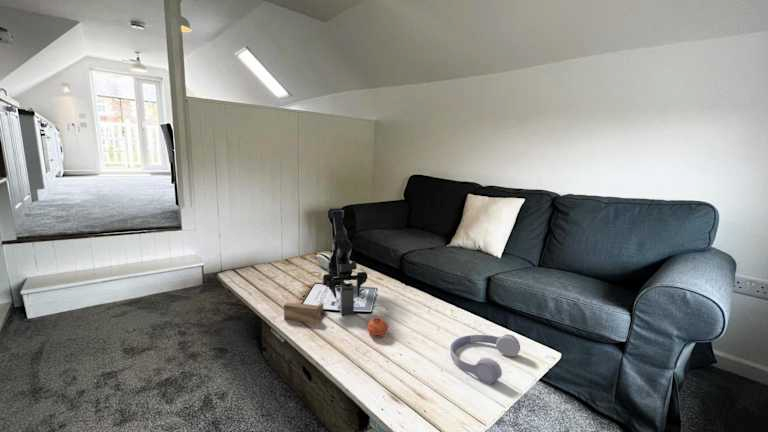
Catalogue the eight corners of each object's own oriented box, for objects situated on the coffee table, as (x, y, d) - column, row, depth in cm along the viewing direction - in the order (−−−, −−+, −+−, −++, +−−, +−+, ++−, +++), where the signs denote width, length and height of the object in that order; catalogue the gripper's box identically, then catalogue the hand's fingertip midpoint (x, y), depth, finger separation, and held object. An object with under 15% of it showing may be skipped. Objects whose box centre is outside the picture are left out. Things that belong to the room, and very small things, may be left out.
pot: (393, 334, 128) (391, 319, 125) (378, 345, 123) (375, 330, 121) (379, 325, 134) (377, 310, 131) (364, 335, 129) (361, 321, 127)
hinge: (340, 271, 195) (335, 256, 191) (333, 275, 193) (328, 260, 189) (325, 263, 208) (320, 249, 204) (319, 267, 206) (314, 253, 202)
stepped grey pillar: (340, 311, 145) (340, 283, 143) (351, 310, 147) (352, 283, 144) (341, 317, 140) (342, 288, 138) (354, 316, 142) (354, 287, 139)
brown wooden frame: (296, 307, 148) (296, 294, 147) (327, 311, 146) (327, 297, 144) (284, 319, 138) (283, 305, 137) (316, 323, 135) (316, 309, 134)
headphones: (522, 355, 116) (468, 338, 129) (523, 336, 116) (468, 320, 128) (497, 389, 100) (437, 365, 112) (498, 367, 99) (437, 345, 111)
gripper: (323, 256, 142) (325, 291, 133) (367, 253, 147) (372, 287, 138) (321, 268, 151) (323, 302, 142) (363, 265, 155) (367, 298, 147)
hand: (347, 297), depth 142 cm, fingers open, 9 cm apart
